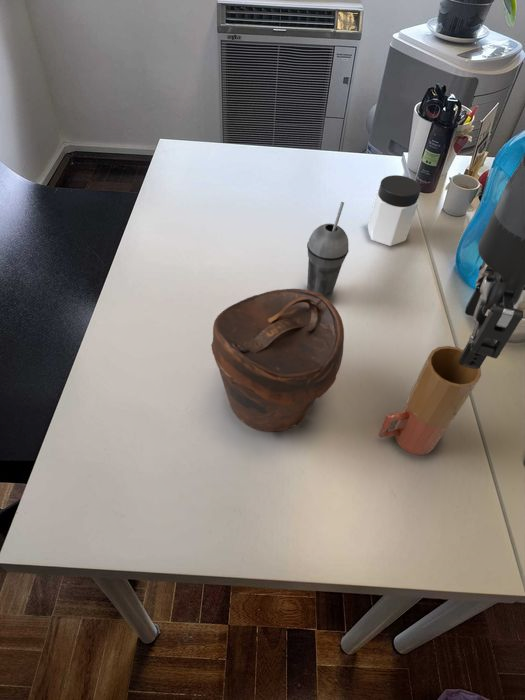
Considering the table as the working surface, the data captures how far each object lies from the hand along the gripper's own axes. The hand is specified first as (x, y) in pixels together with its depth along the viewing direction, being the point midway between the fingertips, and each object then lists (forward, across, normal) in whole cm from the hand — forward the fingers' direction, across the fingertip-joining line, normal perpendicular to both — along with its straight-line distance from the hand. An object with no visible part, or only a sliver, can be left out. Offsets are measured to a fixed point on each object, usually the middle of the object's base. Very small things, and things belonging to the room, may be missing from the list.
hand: (470, 338), depth 54 cm
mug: (+22, -1, +1) cm, 22 cm away
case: (+22, -2, +22) cm, 32 cm away
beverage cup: (+22, +24, +22) cm, 40 cm away
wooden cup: (+14, 0, 0) cm, 14 cm away
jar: (+22, +50, +14) cm, 56 cm away
